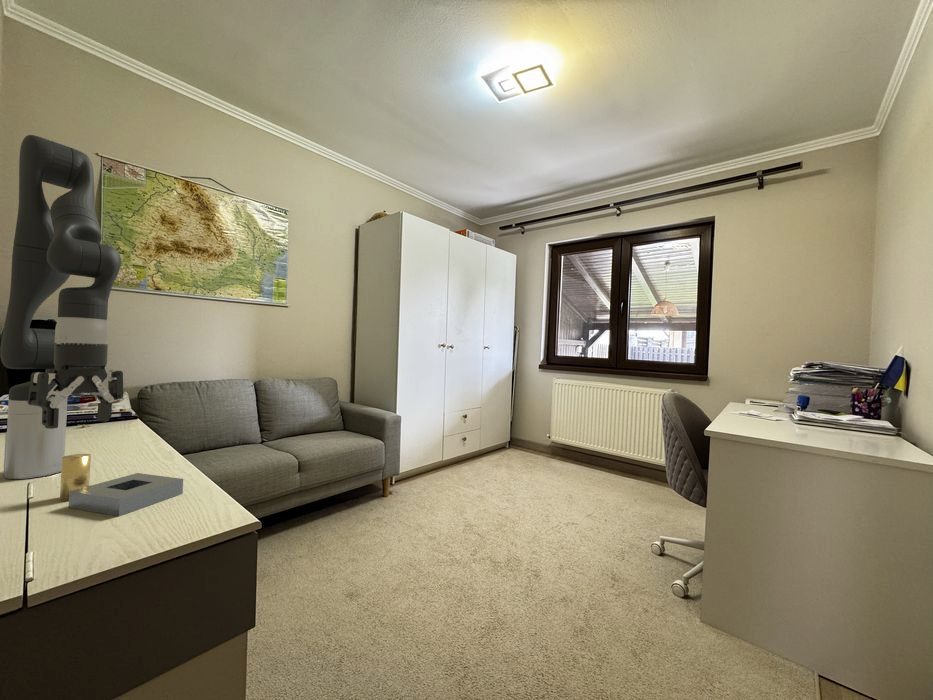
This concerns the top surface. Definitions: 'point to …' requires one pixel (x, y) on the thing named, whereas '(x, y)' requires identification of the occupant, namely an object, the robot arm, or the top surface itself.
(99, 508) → the frame
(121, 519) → the top surface
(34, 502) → the top surface
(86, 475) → the brass cylinder
